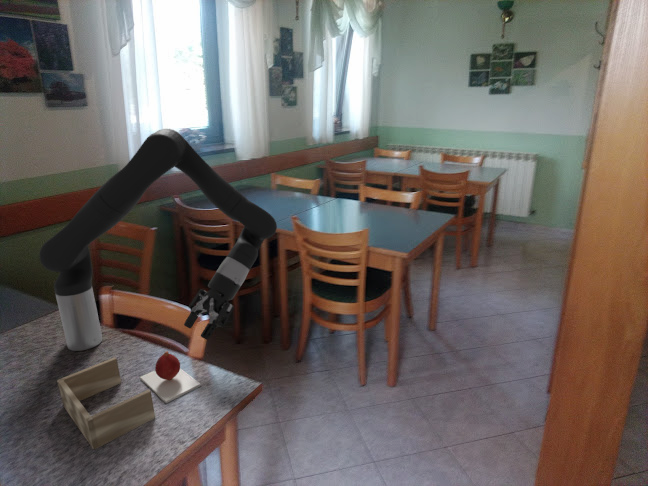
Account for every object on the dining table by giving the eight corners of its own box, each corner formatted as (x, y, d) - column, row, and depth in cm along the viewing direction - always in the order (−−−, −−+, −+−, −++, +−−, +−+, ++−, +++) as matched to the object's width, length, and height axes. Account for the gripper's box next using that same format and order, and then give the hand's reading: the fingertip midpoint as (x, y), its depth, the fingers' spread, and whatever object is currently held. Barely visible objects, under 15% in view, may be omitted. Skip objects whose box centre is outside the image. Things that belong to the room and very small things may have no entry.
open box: (63, 405, 102) (57, 380, 100) (119, 381, 111) (115, 357, 109) (93, 449, 89) (87, 421, 87) (155, 417, 98) (150, 391, 96)
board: (140, 379, 112) (140, 377, 112) (173, 364, 118) (173, 362, 118) (166, 403, 102) (165, 401, 102) (200, 385, 108) (200, 383, 108)
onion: (156, 388, 107) (151, 360, 104) (158, 375, 112) (153, 347, 110) (181, 384, 108) (177, 355, 106) (182, 371, 114) (178, 343, 111)
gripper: (205, 265, 119) (171, 318, 115) (235, 278, 109) (198, 336, 105) (223, 277, 124) (191, 328, 120) (253, 291, 114) (220, 347, 110)
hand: (195, 332), depth 112 cm, fingers open, 8 cm apart
